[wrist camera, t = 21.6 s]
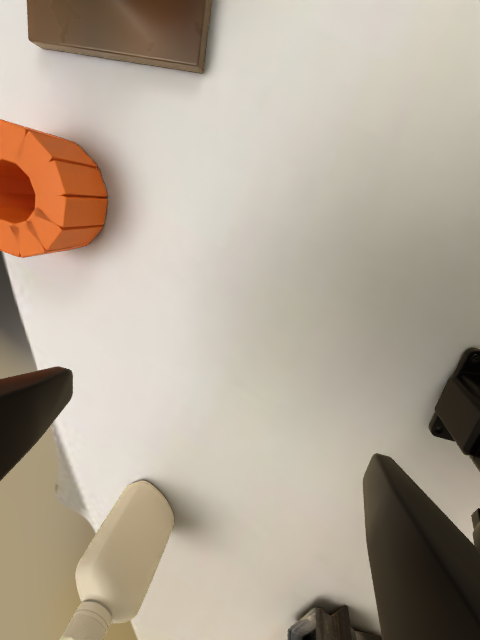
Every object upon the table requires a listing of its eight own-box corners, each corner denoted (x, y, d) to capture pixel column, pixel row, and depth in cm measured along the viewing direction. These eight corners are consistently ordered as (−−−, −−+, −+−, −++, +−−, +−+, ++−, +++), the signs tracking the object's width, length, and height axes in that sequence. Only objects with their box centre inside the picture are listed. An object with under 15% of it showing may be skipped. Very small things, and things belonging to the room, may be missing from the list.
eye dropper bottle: (133, 521, 31) (36, 700, 19) (126, 475, 29) (15, 642, 18) (176, 529, 30) (101, 720, 19) (172, 482, 28) (87, 662, 17)
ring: (85, 122, 20) (35, 102, 16) (120, 237, 22) (83, 243, 18) (-4, 153, 21) (-68, 141, 18) (37, 257, 23) (-14, 266, 20)
